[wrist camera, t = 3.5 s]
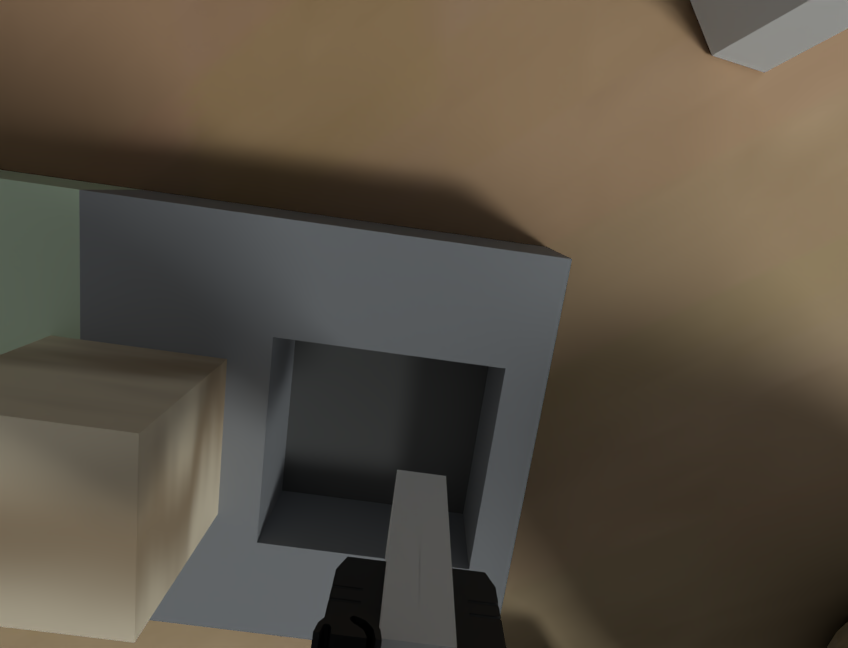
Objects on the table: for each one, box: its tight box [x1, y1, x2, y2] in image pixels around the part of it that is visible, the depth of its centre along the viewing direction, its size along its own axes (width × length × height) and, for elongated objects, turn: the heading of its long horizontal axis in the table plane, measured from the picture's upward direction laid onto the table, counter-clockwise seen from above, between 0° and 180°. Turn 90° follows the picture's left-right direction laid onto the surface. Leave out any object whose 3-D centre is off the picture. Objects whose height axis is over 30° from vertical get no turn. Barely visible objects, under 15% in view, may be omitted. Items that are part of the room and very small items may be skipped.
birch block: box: [0, 335, 227, 643], centre depth 17 cm, size 6×6×6 cm
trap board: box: [0, 170, 572, 640], centre depth 22 cm, size 16×37×4 cm, turn 82°
